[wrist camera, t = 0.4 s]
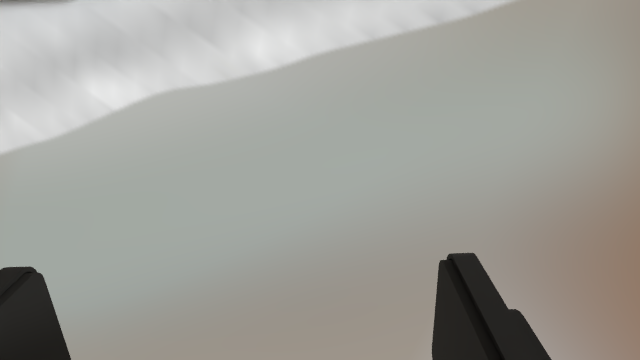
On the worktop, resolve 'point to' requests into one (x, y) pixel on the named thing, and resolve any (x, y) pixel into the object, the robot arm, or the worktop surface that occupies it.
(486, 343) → the robot arm
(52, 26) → the worktop surface
